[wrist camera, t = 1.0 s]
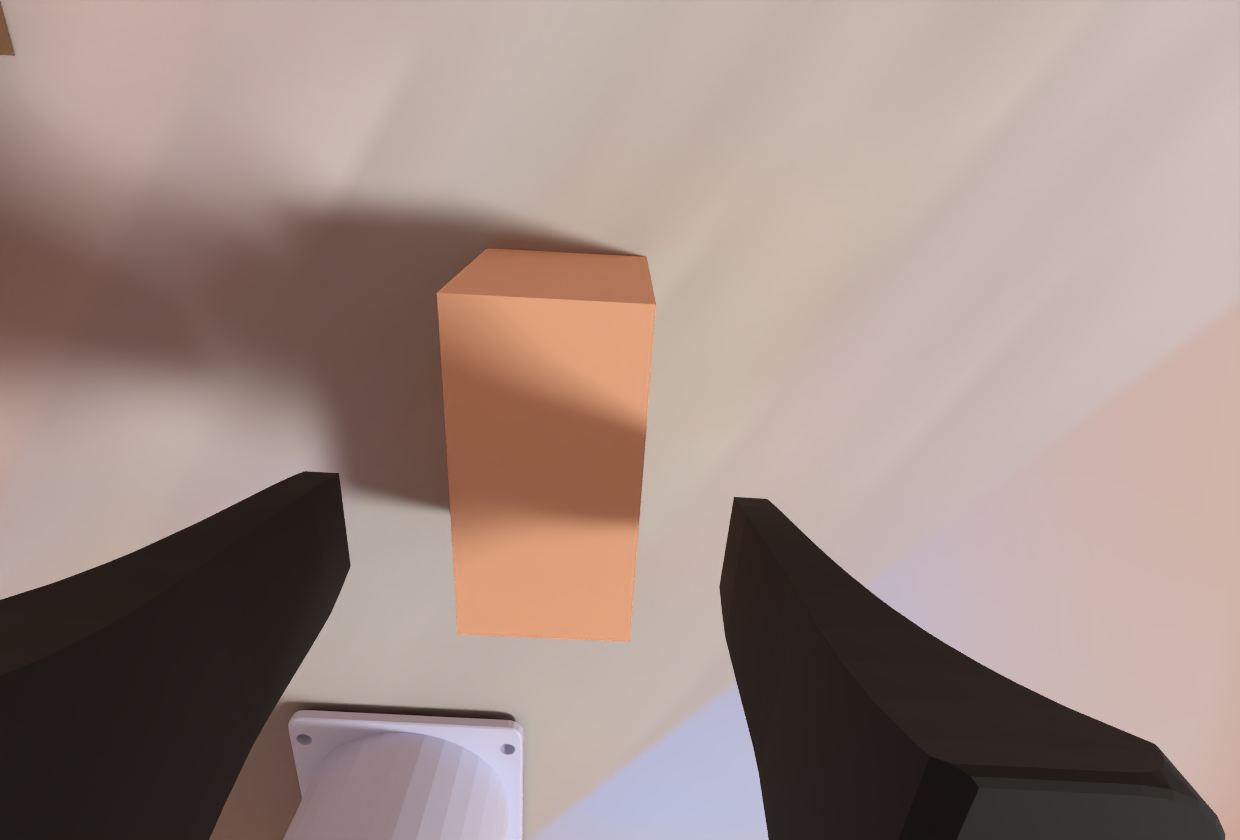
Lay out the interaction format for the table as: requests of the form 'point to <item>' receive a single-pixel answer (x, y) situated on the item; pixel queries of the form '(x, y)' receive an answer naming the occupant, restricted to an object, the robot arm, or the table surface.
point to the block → (546, 439)
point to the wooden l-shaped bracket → (5, 36)
